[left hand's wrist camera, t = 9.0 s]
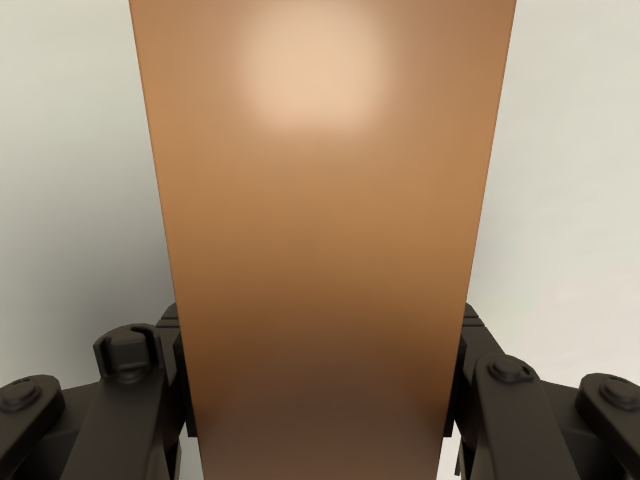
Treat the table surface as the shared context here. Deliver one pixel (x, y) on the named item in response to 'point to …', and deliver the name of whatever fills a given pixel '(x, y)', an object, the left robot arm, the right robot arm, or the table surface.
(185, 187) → the bar
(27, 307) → the table surface
